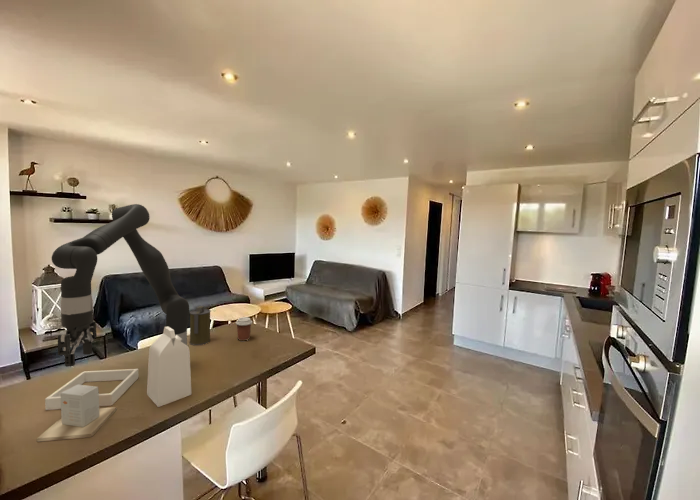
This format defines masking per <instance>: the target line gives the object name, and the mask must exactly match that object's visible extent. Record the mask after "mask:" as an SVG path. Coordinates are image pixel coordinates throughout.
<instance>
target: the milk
mask: <svg viewBox="0 0 700 500" xmlns="http://www.w3.org/2000/svg"><path fill="white" fill-rule="evenodd" d="M163 329H164V333H162V334H161V335H160V336H159V337H158V338H157V339H156V340H155V341H154V342H152V344H151V345H150V346H149V349H148V364H147V365H148V366H147V383H146V384H147V387H146V396H148V397H149V399H151V401H152V403H154V404H155V406H157V408H160V407H162V406H164V405H168V404H171V403H173V402H175V401H178V400H181V399H183V398H185V397H188V396H191V395H192V378H191V376H192V374H191V357H190V356H191V355H190V354H191V353H190V348H188V346H189V345H188V344H187V345H188V346H187V345H185V344H184V343H182V342H181V340H182V338H180V337H179V336H177V335H176V336H175V332H174V330H173V329H172V328H170V327H164V326H163Z"/></svg>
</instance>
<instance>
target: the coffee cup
mask: <svg viewBox="0 0 700 500" xmlns="http://www.w3.org/2000/svg"><path fill="white" fill-rule="evenodd" d="M252 324H253V320H251V318H250V317H249V316H248V317H247V316H246V317H244V316H243V317H238V319H237V320H236V321H235V325H236V330H237V331H236V332H237V340H238V339H239V340H247V339H249V338H250V337H251V336H250V335H251V329H252ZM249 340H250V339H249ZM247 341H248V340H247Z"/></svg>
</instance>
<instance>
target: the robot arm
mask: <svg viewBox="0 0 700 500" xmlns="http://www.w3.org/2000/svg"><path fill="white" fill-rule="evenodd" d="M150 218H151V216H150V213H149V210H148V209H147V208H146V207H145V206H144V205H142V204H139V203H138V204H137V203H134V204H128V205H124V206H121V207H116V208H114V209H113V210H112V212H111V219H112V221H110V222H109V223H106V224H104V225H101V226H98V227H97V228H95V229H93V230H92V231H91V232H89V233H87V234H86V235H84V236H83V237H80V238H77V239H73V240H72V241H69V242H66V243H64V244H61V245H60V246H58V247H57V248H56V249H55V250H54V251H53V252H52V255H51V262H52V264H53V265H54V266H55V267H57V268H58V269H64V270H65V269H66V270H75V273H74V275H70V276H66V277H65V278H62V279H61V280H60V297H61V299H60V323H61V327H62V328H65V329H66V331H65V334H59V335H58V336H57V356H64V366H65V367H73V366H75V365H76V358H75V357H76V354H75V352H76V349H77V348H78V347H79V346H80V343H81V342H82V354H83V355H85V356H86V355H92V353H93V342H94V339H96V338H97V324H96V323H97V322H96V321H95V320H94V300H93V296H92V281H93V277H94V273H95V269H96V267H97V264H98V255H100V254H102V253H104V252H105V251H107V250H108V249H109V248H110V247H111V246H113V245H115V243H117V242H118V241H120V239H122V238H123V239H124V241H125V242H126V244H127V245H128V247H129V249H130V251H131V252H132V254H133V256H134V257H135V259H136V261H137V263H138V266H139V267H140V270H141V271H142V273H143V275H144V277H145V278H146V280H147V282H148V284H149V285H150V286H151V287H152V289H153V291H154V293H155V296H156V298H157V300H158V303H159V305H160V309H161V310H162V312H163V313H164V314H165V315H166V316H165V317H166V318H165V325H164V326H163V333H164V327H170V328H172V329H173V330H174V332H175V336H176V335H177V336H179V337H180V338H182V340H181V342H182V343H184V344H185V345H187V346H188V348H189V345H188V326H189V325H190V303H189V301H188V300H187V299H186V298H184V297H183V296H180V295H179V294H178V291H176V288H175V287H174V285H173V283H172V279H171V273H170V269H169V266H168V263H167V261H166V258H165V257H164V255H163V254H162V252H161V251H160V250H159V249H158V248H156V247H155V246H153V245H152V244H151V243H149V242H148V241H146V240H145V239H144V238H143V237H142V236H141V234H140V233H139V232H138V231H139V230H138V229H140V228H141V227H144V226H146V225H147V224H149V221H150ZM163 333H162V334H163ZM189 349H190V348H189Z"/></svg>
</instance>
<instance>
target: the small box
mask: <svg viewBox="0 0 700 500" xmlns="http://www.w3.org/2000/svg"><path fill="white" fill-rule="evenodd" d="M99 394H100V392H99V386H95V385H87V384H86V385H84V384H82V385H79V384H78V385H76V386H74V387H72V388H70V389H68V390H66V391H64V392H62V393H60V395H61V409H60V410H61V411H60V414H61V417H62V424H64V425H71V426H78V427H84V426H86V425H87V424H89V423H90V422H92V421H93V420H95V419H97V418H98V417H99V416H100V415H99V408H100V406H99ZM61 417H60V418H61Z"/></svg>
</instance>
